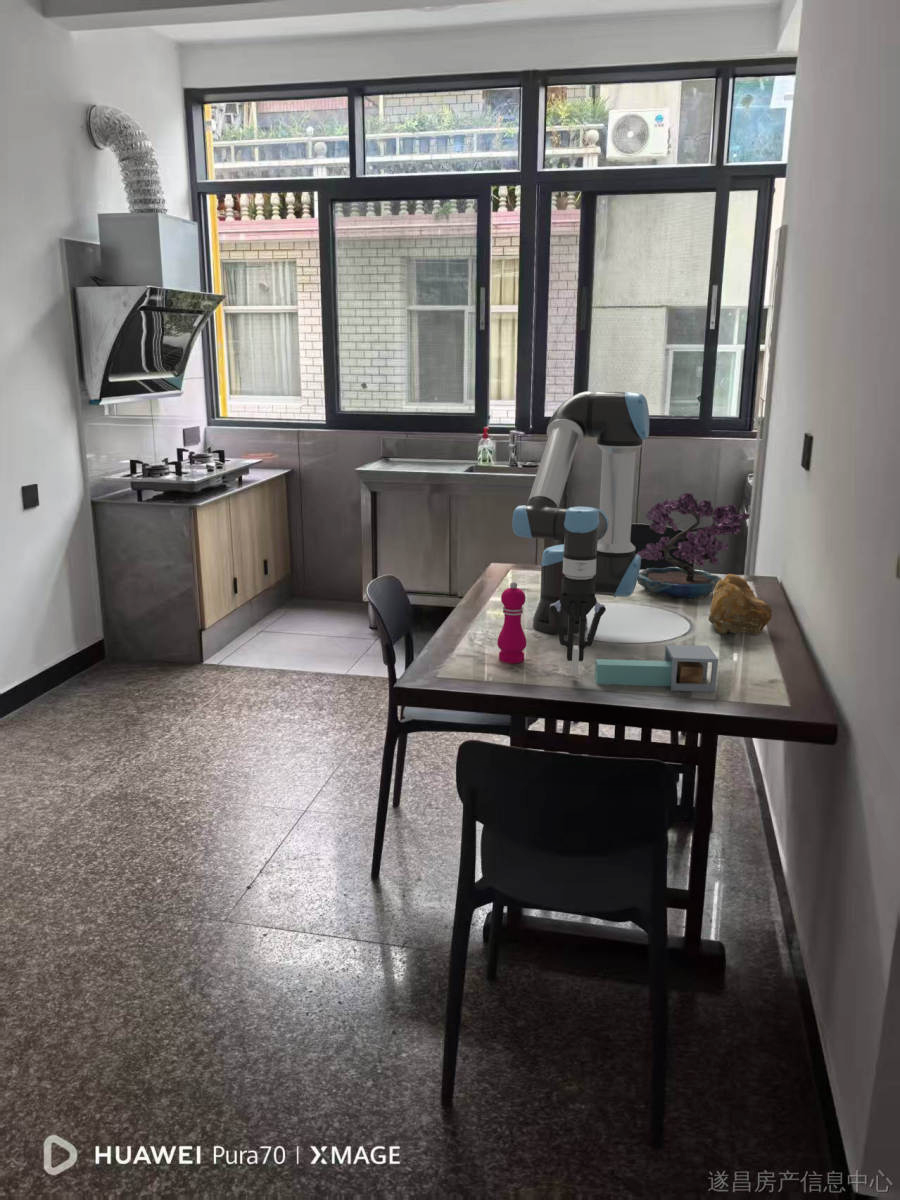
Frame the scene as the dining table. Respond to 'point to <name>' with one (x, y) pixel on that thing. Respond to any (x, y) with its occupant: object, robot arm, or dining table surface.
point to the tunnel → (691, 655)
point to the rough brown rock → (737, 607)
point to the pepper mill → (512, 626)
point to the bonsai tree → (687, 548)
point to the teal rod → (633, 672)
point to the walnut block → (689, 672)
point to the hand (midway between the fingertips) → (574, 673)
